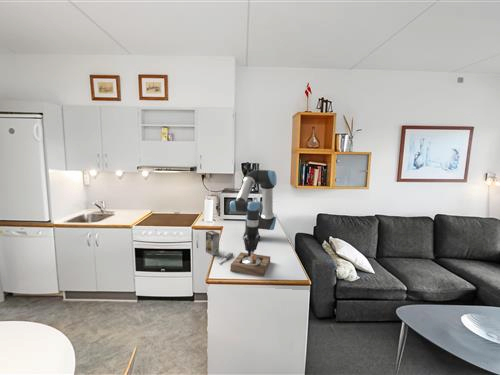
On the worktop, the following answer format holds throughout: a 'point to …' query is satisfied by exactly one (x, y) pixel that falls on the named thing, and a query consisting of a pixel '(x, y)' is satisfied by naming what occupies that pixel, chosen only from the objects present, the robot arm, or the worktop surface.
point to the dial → (254, 261)
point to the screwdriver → (227, 257)
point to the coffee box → (212, 242)
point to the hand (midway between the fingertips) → (250, 260)
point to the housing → (250, 269)
